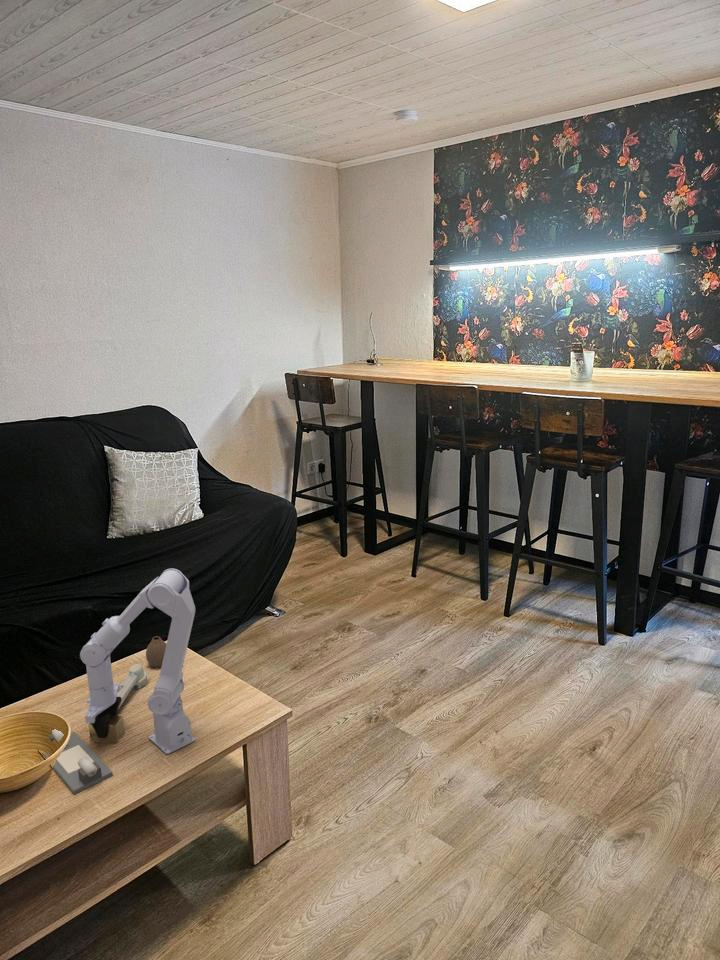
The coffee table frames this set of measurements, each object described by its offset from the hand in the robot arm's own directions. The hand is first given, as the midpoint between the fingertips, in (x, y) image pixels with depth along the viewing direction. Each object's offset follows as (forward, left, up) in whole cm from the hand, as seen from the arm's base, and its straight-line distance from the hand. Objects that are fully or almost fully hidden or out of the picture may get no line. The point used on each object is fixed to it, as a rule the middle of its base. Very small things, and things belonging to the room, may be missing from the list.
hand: (106, 731), depth 170 cm
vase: (+24, -27, -2) cm, 36 cm away
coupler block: (0, 0, -2) cm, 2 cm away
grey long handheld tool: (+12, -10, -2) cm, 15 cm away
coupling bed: (-4, +10, -2) cm, 11 cm away
